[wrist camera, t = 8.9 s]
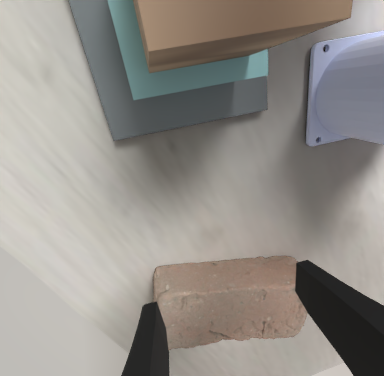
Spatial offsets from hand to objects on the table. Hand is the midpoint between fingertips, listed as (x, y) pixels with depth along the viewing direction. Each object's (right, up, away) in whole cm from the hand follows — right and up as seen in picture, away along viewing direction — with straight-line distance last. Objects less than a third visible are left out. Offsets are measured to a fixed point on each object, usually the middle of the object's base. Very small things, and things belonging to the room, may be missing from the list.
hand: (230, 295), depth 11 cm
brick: (+2, -6, +15) cm, 16 cm away
